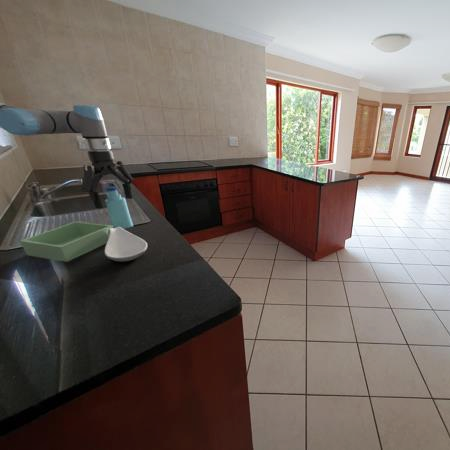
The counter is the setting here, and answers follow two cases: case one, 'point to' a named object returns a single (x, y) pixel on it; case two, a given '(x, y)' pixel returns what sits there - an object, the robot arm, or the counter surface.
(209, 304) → the counter surface
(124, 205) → the bottle
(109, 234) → the spoon rest
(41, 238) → the bin
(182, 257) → the counter surface
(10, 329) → the counter surface
